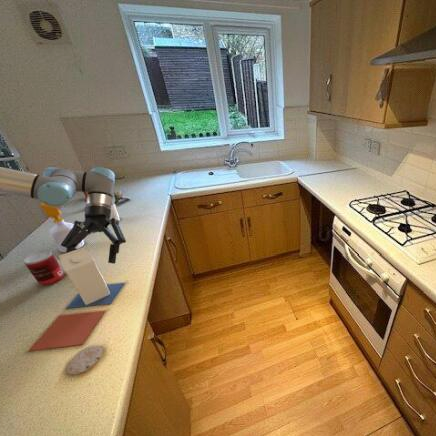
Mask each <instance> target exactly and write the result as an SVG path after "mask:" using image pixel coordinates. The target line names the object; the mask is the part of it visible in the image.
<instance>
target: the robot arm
mask: <svg viewBox="0 0 436 436" xmlns="http://www.w3.org/2000/svg"><path fill="white" fill-rule="evenodd" d="M115 179H116V174H115V173H114V171H112V170H111V169H110V168H109V169H108V168H106V167H93V168H92V169H91V170H90V171H82V170H81V171H80V170H79V171H78V170H74V169H67V168H62V167H52V166H48V167H46V168H45V169H44V171H43V174H42V175H41V174H37V173H32V172H27V171H22V170H19V169H14V168H13V169H12V168H8V167H3V166H0V194H3V195H9V196H16V197H17V196H18V197H22V198H29V199H36V200H39V202H40V203H41V202H42V203H44V204H46V205H49V206H56V207H61V206H64V205H66V204H67V203H69V202H70V201H71V200H72V199H73V197H74V196H75V193H76V192H80V193H84V192H88V196H87V201H86V200H85V208H84V220H83V221H81V220H74V223H73V224H74V226H73V228H72V229H71V230H70V232H69V233H68V235H67V236H66V238H65V239H64V241H63V242H62V243H61V246H63V247H66V248H67V250H66V252H65V253H68V252H71V251H74V250H77V249H76V248H75V247H76V246H77V245H78V244H79V243H80V242H81V241H82V240H83V241H84V240H85V239H86V238H87V236H89V235H91V234H95V233H103V234H104V236H106V238H108V239H109V240H110V242H111V244H109V251H108V261H107V262H108V263H109V264H116V262H117V255H118V254H119V252H120V245H121V244H125V243H126V242H127V240H126V237H125V236H124V233H123V231H122V229H121V227H120V221H119V220H117V219H115V218H112V219H110V216H111V207H112V203H113V198H114V190H115V183H116V182H115V181H116V180H115ZM109 219H110V220H109ZM109 225H111V228H112V230H113V231H114V233H113V232H112V230H111V229H110V228H109V227H108V226H109Z"/></svg>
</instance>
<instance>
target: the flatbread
mask: <svg viewBox="0 0 436 436" xmlns="http://www.w3.org/2000/svg"><path fill="white" fill-rule="evenodd" d="M103 352H104V346H103V345H95V344H94V345H89V346H87V347H85V348H83V349H81V350H80V351H78V352H77V353H76V354H75V355H74V356H73V357H72V358H70V360H69V361H68V362H67V364H66V366H65V372H66V373H67V374H69V375H73V376H76V375H79V374H83V373H85V372H87V371H89V370H90V369H91V368H92V367H93V366H95V365H96V364H97V362H99V360H100V359H101V357H102V355H103Z"/></svg>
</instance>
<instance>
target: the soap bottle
mask: <svg viewBox="0 0 436 436" xmlns="http://www.w3.org/2000/svg"><path fill="white" fill-rule="evenodd" d="M40 205H41V207H42V210H43V212H44V213H45V215H46V217H47V218H52V219H53V220H52V222H53V224H54V225H53V226H52V227H51V229H50V230H49V234H50V236H51V238H52V239H53V241H54V243H55V245H56V246H57V248H58V250H59V251H60V252H61V253H66V250H67V248H66V247H63V246H61V243H62V242H63V241H64V239H65V238H66V236H67V235H68V233H69V232H70V230H71V229H72V228H73V226H74V223H72V222H66V221H65V220H64V219H63V217H60V216H61V214H62V211H61V210H59V209H58V206H49V205H46V204H44V203H42V202H41V201H40ZM84 245H85V240H84V239H83V240H82V241H81V242H80V243H79V244H78V245H77V246H76V247H75V248H76V249H80V248H83V247H84Z"/></svg>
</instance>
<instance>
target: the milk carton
mask: <svg viewBox="0 0 436 436" xmlns="http://www.w3.org/2000/svg"><path fill="white" fill-rule="evenodd" d="M57 256H58V258H59V261H60V262H61V265H62V268H63V269H64V273H66V275H67V277H68V278H69V280H70V282H71V283H72V285H73V287H74V288H75V290H76V292H77V294H79V295H80V296H81V298H82V300H83V301H84V303H85V305H88V304H90V303H92V302H94V301H97V300H99V299H101V298H103V297H105V296H108V295H110V291H109V289H108V287H107V285H108V284H107V283H106V281H105V278H104V276H103V275H102V273H101V270H100V269H99V267H98V264H97V263H96V260H95V259H94V257H93V255H92V253H91V252H90V250H89V248H88V247H87V246H82V247H81V248H79V249H77V250H74V251H71V252H68V253H66V252H64V253H62V254H59V255H57Z"/></svg>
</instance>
